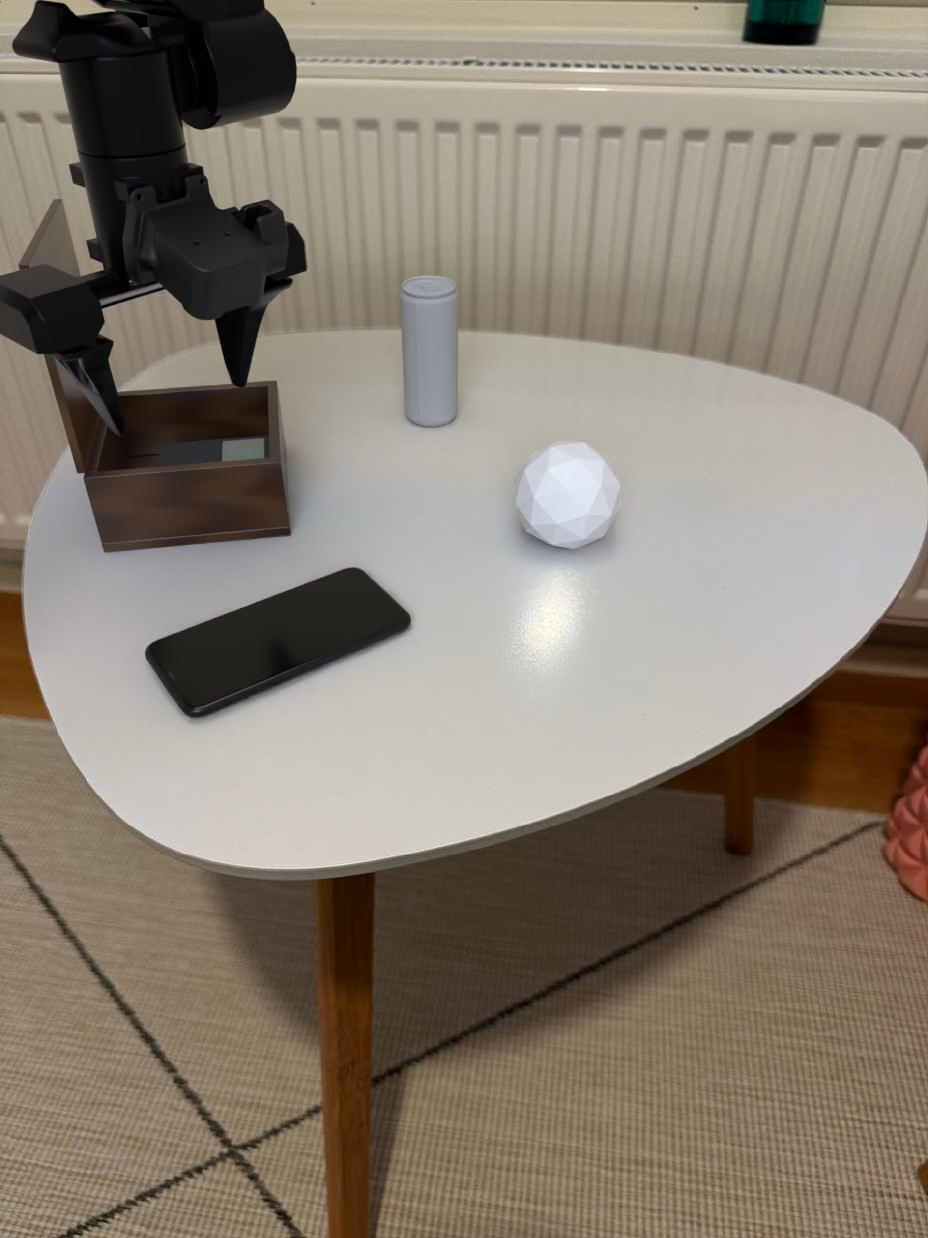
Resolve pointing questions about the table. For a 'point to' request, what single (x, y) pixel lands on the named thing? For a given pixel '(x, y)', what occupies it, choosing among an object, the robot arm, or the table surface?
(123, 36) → the robot arm
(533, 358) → the table surface
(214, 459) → the black lcd device
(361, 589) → the smartphone
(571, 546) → the geometric ball
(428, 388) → the beverage can
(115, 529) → the case
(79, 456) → the case lid
